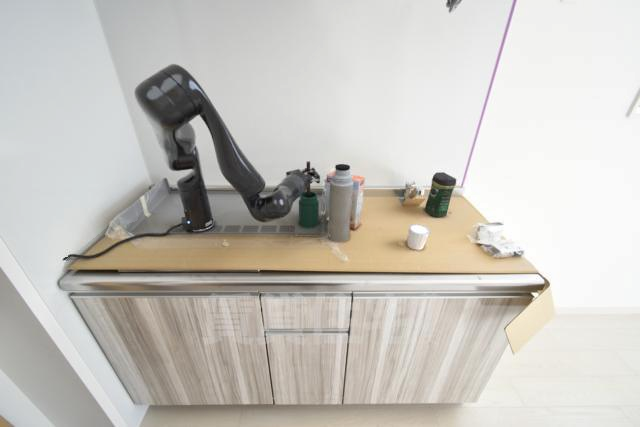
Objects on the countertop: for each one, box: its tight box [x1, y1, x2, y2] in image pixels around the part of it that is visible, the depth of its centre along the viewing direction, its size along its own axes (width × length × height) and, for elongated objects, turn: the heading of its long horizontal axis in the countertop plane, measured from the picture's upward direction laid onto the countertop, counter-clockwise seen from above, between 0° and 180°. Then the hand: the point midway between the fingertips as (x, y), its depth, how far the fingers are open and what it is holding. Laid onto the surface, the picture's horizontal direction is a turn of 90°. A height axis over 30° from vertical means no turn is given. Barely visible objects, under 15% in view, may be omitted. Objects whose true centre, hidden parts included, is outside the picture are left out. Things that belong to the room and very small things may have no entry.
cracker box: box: [325, 170, 366, 230], centre depth 97 cm, size 14×6×21 cm, turn 58°
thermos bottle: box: [327, 163, 354, 243], centre depth 86 cm, size 8×8×28 cm
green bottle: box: [298, 190, 320, 229], centre depth 98 cm, size 8×8×13 cm
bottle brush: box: [305, 160, 312, 198], centre depth 93 cm, size 4×4×20 cm
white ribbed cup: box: [406, 224, 430, 251], centre depth 87 cm, size 7×7×7 cm
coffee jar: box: [424, 171, 457, 218], centre depth 106 cm, size 10×8×19 cm
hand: (310, 169), depth 93 cm, fingers closed on bottle brush
